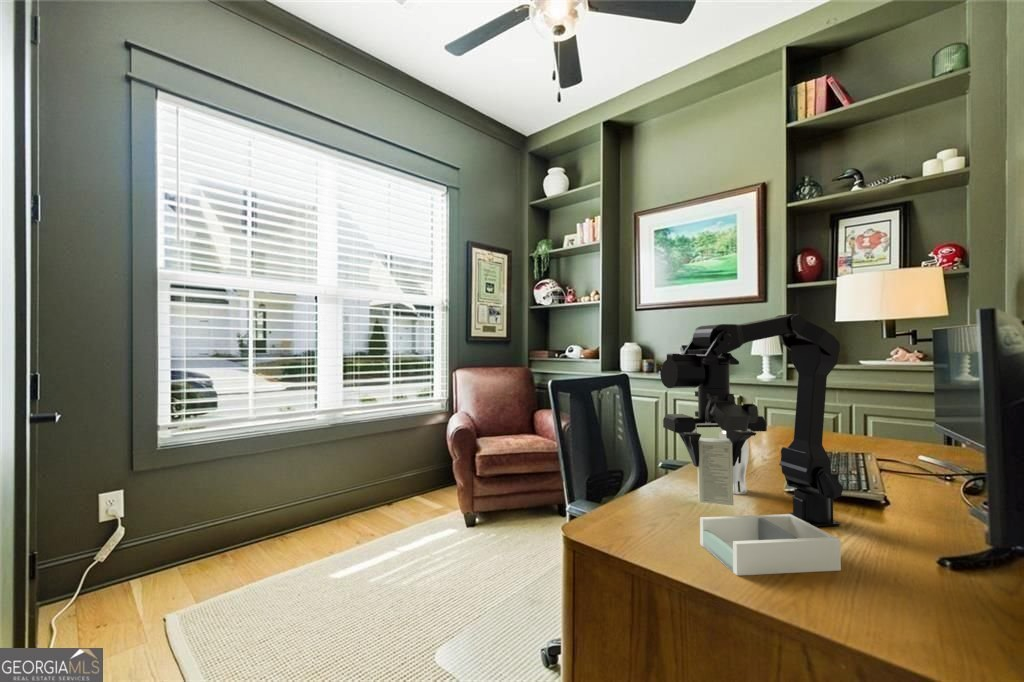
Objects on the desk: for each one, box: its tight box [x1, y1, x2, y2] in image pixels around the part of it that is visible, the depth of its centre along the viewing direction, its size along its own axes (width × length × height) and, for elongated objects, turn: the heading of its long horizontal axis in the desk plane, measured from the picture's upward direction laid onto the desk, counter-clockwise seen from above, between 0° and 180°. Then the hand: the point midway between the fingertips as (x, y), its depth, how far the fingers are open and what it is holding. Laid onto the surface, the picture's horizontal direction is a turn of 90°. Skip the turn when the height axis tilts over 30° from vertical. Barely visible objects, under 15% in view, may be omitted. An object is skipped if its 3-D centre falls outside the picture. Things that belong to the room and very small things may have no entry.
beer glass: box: [718, 429, 750, 495], centre depth 110 cm, size 7×7×15 cm
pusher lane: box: [699, 513, 842, 576], centre depth 75 cm, size 18×11×5 cm, turn 96°
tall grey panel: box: [758, 518, 797, 540], centre depth 75 cm, size 1×8×4 cm, turn 6°
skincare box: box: [696, 436, 734, 506], centre depth 85 cm, size 6×4×12 cm
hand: (714, 466), depth 85 cm, fingers closed on skincare box, 7 cm apart
